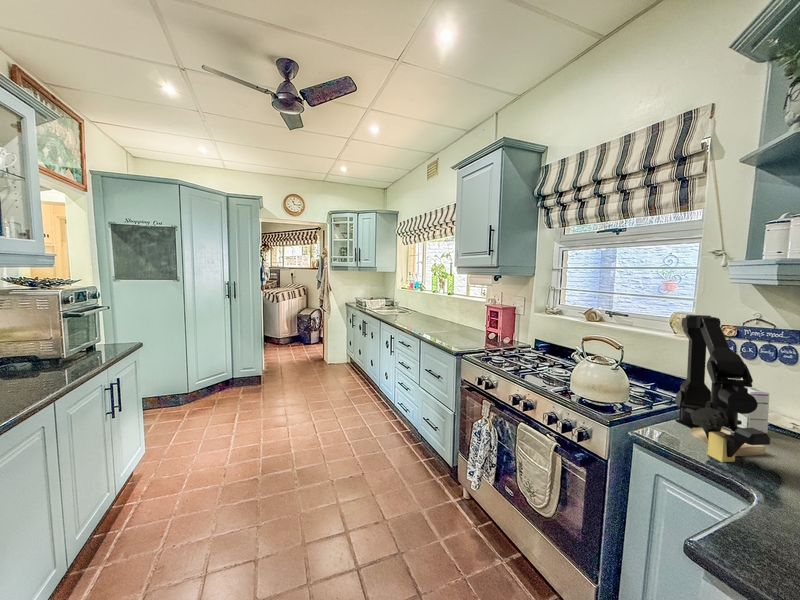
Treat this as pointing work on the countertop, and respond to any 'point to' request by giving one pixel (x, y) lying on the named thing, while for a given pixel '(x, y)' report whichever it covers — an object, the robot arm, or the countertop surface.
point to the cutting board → (742, 451)
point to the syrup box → (756, 411)
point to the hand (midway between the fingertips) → (721, 452)
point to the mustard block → (719, 447)
